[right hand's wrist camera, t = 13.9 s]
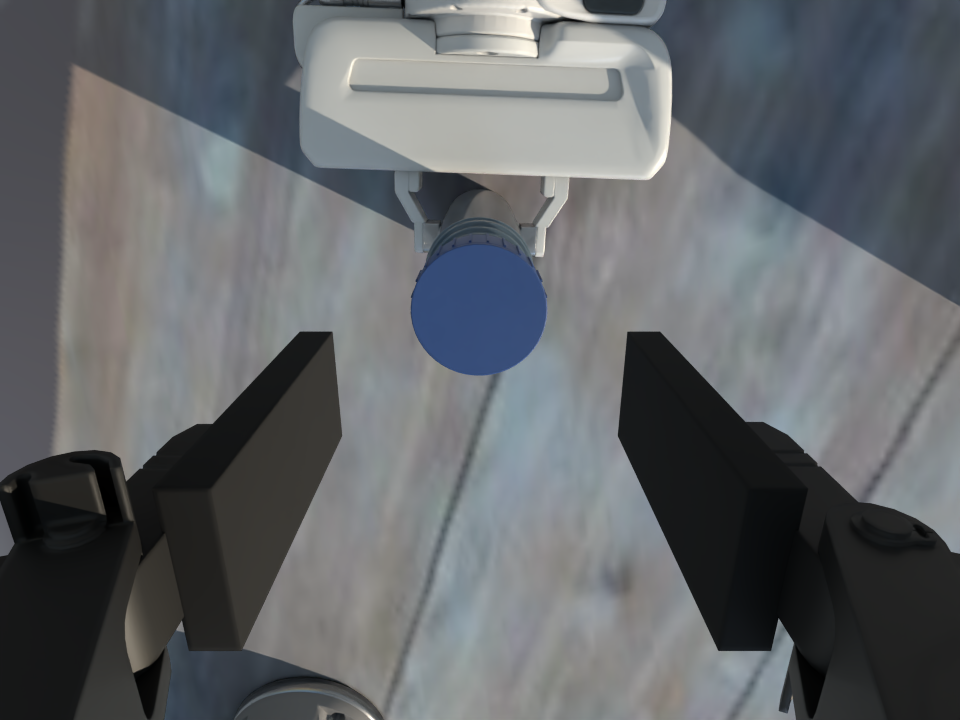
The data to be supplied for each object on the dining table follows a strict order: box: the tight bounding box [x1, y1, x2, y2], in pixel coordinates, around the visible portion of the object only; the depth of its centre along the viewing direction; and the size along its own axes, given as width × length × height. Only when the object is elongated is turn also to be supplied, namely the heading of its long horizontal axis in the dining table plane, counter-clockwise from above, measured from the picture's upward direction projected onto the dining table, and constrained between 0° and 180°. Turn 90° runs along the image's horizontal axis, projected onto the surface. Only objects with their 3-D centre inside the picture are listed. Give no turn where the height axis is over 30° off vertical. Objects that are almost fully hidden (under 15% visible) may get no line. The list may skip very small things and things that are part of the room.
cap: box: [411, 233, 547, 375], centre depth 21 cm, size 5×5×2 cm
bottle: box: [426, 189, 533, 263], centre depth 31 cm, size 5×5×22 cm
